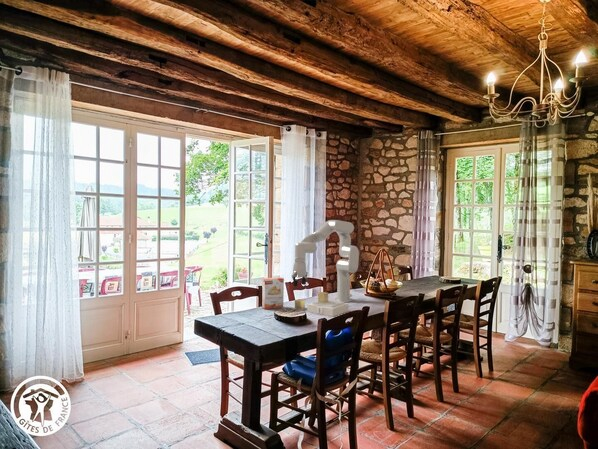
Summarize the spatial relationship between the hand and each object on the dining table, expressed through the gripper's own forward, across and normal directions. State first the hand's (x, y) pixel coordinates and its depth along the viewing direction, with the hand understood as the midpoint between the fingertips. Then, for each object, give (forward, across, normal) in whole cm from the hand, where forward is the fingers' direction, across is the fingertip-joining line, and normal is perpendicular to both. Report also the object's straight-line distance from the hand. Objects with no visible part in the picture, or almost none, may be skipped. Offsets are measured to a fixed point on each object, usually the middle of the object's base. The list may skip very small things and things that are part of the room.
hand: (299, 285), depth 283 cm
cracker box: (+17, +9, -16) cm, 25 cm away
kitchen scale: (+16, -6, +20) cm, 26 cm away
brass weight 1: (+16, -1, 0) cm, 16 cm away
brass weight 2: (+10, -6, +16) cm, 20 cm away
